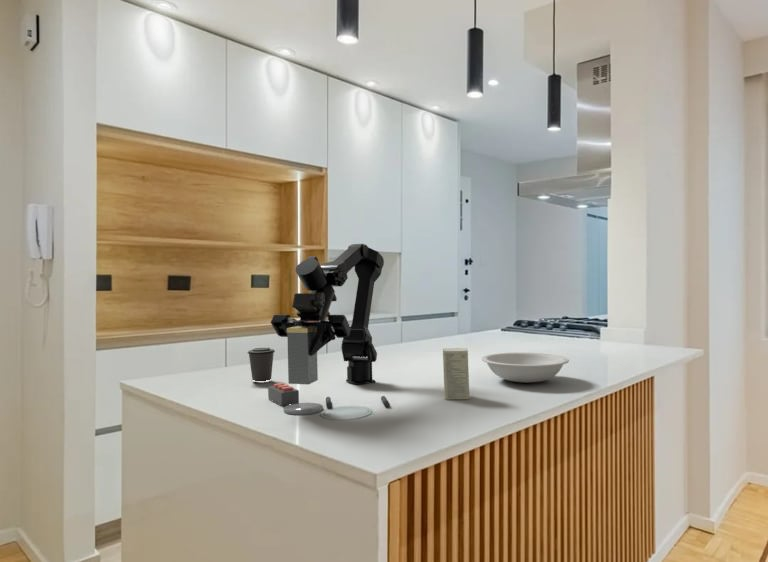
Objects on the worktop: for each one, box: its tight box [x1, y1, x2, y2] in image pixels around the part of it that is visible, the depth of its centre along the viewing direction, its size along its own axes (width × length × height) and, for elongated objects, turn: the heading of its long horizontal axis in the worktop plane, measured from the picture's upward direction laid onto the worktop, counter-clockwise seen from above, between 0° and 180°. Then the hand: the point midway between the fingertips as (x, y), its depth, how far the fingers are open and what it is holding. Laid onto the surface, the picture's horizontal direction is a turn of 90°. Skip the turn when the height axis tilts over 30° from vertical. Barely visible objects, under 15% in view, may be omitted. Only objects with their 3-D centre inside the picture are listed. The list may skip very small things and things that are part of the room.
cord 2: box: [380, 395, 391, 408], centre depth 125 cm, size 7×1×1 cm, turn 8°
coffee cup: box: [247, 347, 276, 381], centre depth 156 cm, size 8×8×10 cm
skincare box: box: [442, 347, 470, 400], centre depth 130 cm, size 6×4×12 cm
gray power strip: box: [267, 382, 300, 407], centre depth 130 cm, size 9×4×4 cm, turn 33°
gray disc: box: [283, 402, 324, 416], centre depth 121 cm, size 9×9×1 cm
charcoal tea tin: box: [286, 326, 319, 386], centre depth 121 cm, size 5×5×13 cm
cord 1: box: [325, 396, 332, 409], centre depth 125 cm, size 7×1×1 cm, turn 8°
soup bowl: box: [481, 352, 569, 384], centre depth 149 cm, size 24×24×7 cm
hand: (300, 354), depth 119 cm, fingers closed on charcoal tea tin, 5 cm apart
